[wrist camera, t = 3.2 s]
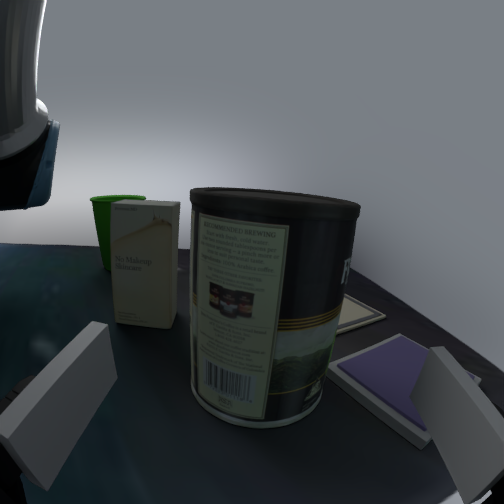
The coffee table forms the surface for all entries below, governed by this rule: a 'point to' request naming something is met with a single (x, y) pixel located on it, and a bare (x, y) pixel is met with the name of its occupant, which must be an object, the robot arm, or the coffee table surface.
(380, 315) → the cream square tile
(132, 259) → the skincare box
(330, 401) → the coffee table surface
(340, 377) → the ink pad
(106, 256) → the cup
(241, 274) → the coffee can
